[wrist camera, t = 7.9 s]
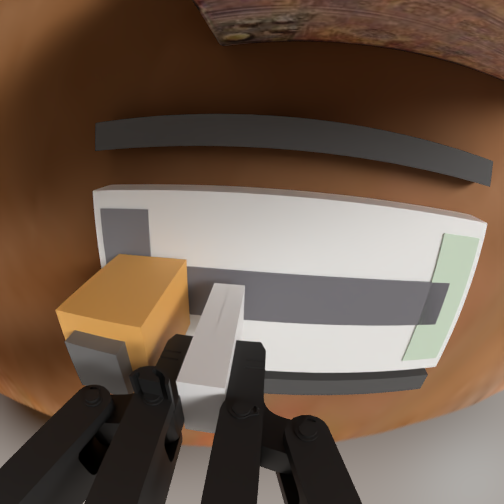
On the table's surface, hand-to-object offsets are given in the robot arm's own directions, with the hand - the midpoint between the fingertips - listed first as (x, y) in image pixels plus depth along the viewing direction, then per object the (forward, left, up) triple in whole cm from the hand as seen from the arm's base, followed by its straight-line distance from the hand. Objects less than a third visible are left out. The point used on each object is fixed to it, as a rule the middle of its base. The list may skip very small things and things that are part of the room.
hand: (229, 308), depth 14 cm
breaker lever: (0, -4, -1) cm, 5 cm away
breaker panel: (0, +3, -3) cm, 5 cm away
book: (-19, +10, -4) cm, 22 cm away
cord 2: (+8, +3, -3) cm, 9 cm away
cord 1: (-8, +3, -3) cm, 10 cm away
